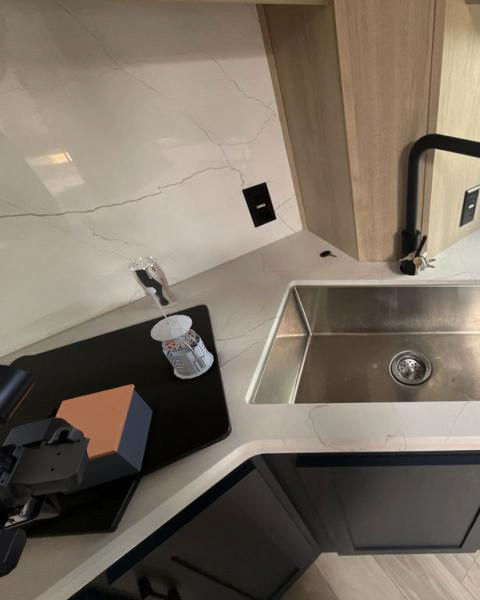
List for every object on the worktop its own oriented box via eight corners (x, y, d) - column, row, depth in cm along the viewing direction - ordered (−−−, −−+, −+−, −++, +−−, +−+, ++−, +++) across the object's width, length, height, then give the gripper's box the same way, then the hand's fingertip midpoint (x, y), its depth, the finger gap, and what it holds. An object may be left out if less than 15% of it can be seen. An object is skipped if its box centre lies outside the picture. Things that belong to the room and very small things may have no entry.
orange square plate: (65, 403, 63) (62, 400, 62) (134, 386, 66) (132, 383, 66) (32, 476, 53) (29, 474, 52) (116, 452, 56) (114, 449, 56)
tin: (90, 429, 68) (63, 406, 62) (153, 412, 72) (133, 389, 66) (67, 495, 59) (32, 476, 53) (141, 472, 62) (117, 452, 56)
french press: (199, 345, 86) (157, 269, 70) (229, 362, 83) (192, 286, 66) (163, 370, 80) (108, 293, 64) (194, 391, 76) (143, 314, 60)
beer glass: (176, 293, 102) (154, 253, 92) (181, 305, 98) (159, 264, 88) (150, 302, 98) (125, 261, 89) (155, 314, 95) (129, 273, 85)
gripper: (16, 531, 31) (106, 566, 41) (80, 380, 44) (136, 434, 54) (-148, 586, 28) (-7, 608, 38) (-27, 405, 41) (54, 458, 51)
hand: (56, 513), depth 46 cm, fingers closed
